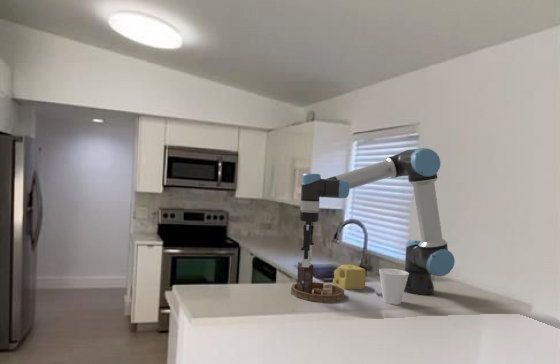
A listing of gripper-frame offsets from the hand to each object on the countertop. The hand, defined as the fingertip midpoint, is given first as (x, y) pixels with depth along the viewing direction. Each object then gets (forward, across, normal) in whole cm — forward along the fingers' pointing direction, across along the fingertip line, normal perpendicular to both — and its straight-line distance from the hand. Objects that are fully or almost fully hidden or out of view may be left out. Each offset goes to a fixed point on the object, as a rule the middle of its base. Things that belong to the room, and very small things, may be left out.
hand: (306, 263), depth 174 cm
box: (+12, 0, -1) cm, 12 cm away
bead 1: (+12, -4, +9) cm, 15 cm away
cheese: (+14, -20, +18) cm, 30 cm away
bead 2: (+12, +4, +9) cm, 15 cm away
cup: (+14, -5, +35) cm, 38 cm away
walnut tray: (+13, 0, +5) cm, 14 cm away
